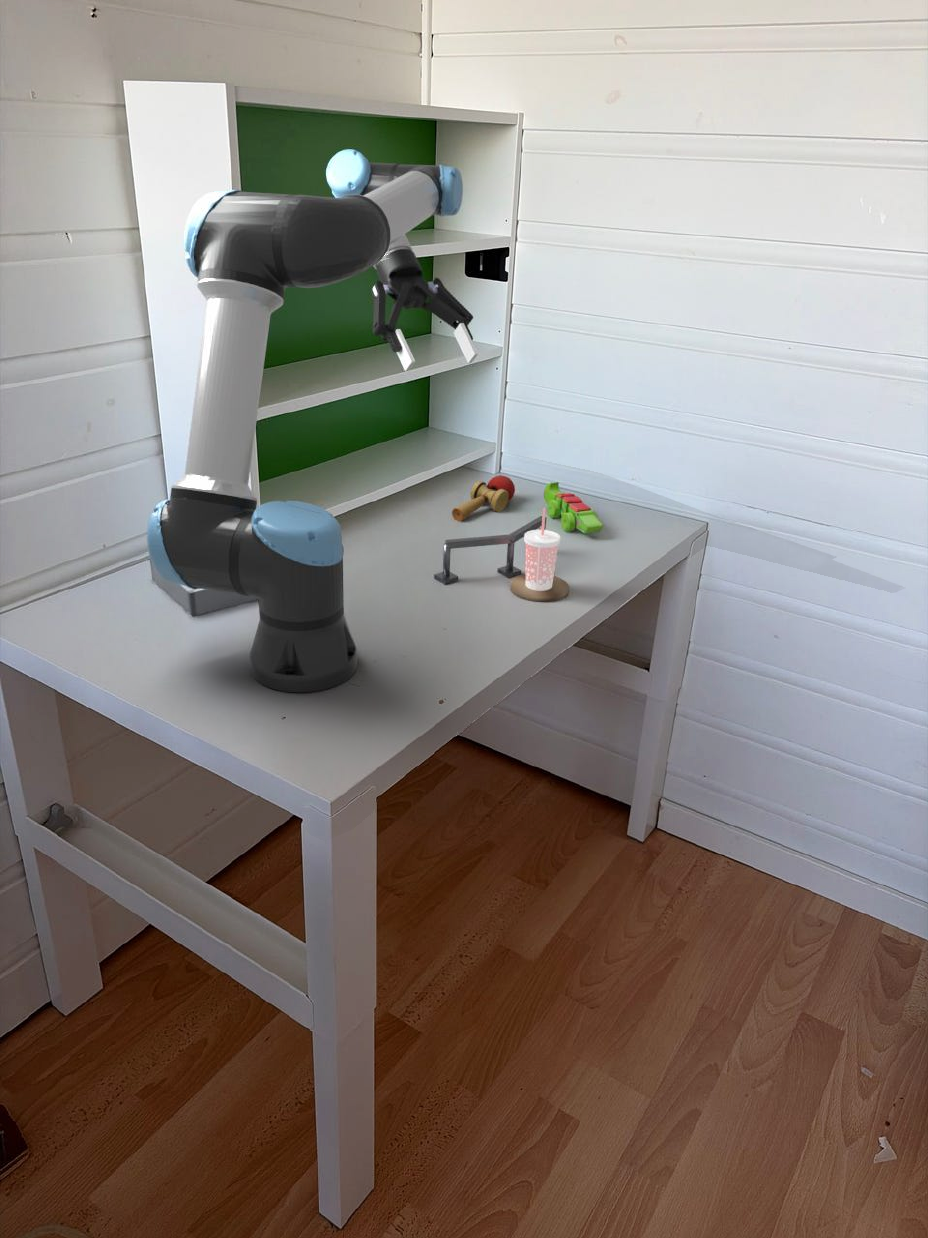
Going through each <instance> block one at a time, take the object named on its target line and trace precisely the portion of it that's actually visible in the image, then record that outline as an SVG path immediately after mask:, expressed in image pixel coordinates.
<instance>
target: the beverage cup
mask: <svg viewBox="0 0 928 1238" xmlns="http://www.w3.org/2000/svg"><path fill="white" fill-rule="evenodd" d="M546 512H547V507H545V506H543V508H542V515H541V516H542V529H541V530H539V529H536V530H531V531H528V532H526V533H525V534H524V537H523V540H524V541H523V542H524V543H525V574H526V583H525V585H526V586H527V588H529V589H532V590H537V591H544V590H548V589H550V588H551V587H552V583H553V576H555V569H556V561H557V555H558V549H559V545H560V544H561V535H560V534H559V533H557V532H555V531H553V530H547V529H546V530H544V527H545V517H546Z"/></svg>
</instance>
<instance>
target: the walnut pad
mask: <svg viewBox="0 0 928 1238" xmlns="http://www.w3.org/2000/svg"><path fill="white" fill-rule="evenodd" d="M525 583H526V573H524V574H521V575H517V576H514V577H512V579H511V581H510V586H509V590H510V591H511V593H512V594H513V595H514V596H516V597H518V598H520V599H522V600H525V601H526V600H527V601H530V602H537V603H550V602H557V601H560V600H562V599H565V597H567V596H568V594H569V590H570V587H569V586H570V585H569V583H568V582H567V581H566V580H564V579H563V578H562V577H558V576H556V575H554V576H553V583H552V587H551V588H550V589H548V590H544V591H537V590H532V589H529V588H527V586H526V585H525Z"/></svg>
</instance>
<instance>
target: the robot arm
mask: <svg viewBox="0 0 928 1238" xmlns="http://www.w3.org/2000/svg"><path fill="white" fill-rule="evenodd" d="M325 176H326V181H327V184H328V186H329V188H330V189H331V193H332V195H333V196H334V197H329V196H318V195H310V194H309V195H308V194H287V193H286V194H285V193H271V192H270V193H269V192H266V193H265V192H253V191H251V192H250V191H243V190H239V189H232V190H229V191H213V192H211V191H210V192H208V193H206V194H205V195H204V196H203V197H200V198H199V199H198V200H197V201H196V202H195V204H194V205H193V207H192V209H191V210H190V212H189V215H188V218H187V221H186V224H185V229H184V236H183V249H184V251H185V252H187V253H186V256H185V260H186V264H187V267H188V268H189V271H190V272H191V273H192V274H193V275H194V276H195V277H196V278H197V282H196V287H197V289H198V290H199V291H200V293H201V295H202V296H203V298H204V299H205V300H206V304H205V313H204V321H203V328H202V338H201V343H200V351H199V352H200V353H199V361H198V370H197V376H196V383H195V390H194V391H195V392H194V399H193V407H192V415H191V423H190V431H189V436H188V437H189V438H188V446H187V454H186V455H187V456H186V462H185V469H184V475H183V477H182V478H181V479H180V478H179V480H178V481H176V482H175V483H173V484H171V488H170V495H169V496H170V497H169V498H167V499H164V500H162V501H160V502H159V503H157V504H156V506H155V507H153V512H152V513H151V514H150V516H149V518H148V524H147V529H146V530H147V531H146V541H147V542H146V543H147V551H148V555H149V559H150V558H151V561H152V563H153V565H154V566H155V568H156V571H157V572H158V573H159V574H160V575H161V576H162V577H163V578H164V579H165V580H167V581H169V582H171V583H175V584H180V585H184V586H187V587H189V588H191V589H192V590H195V589H207V590H213V591H219V592H226V593H232V594H238V595H245V596H251V597H256V598H258V599H257V601H258V608H259V609H258V612H259V613H258V614H259V622H258V624H257V629H256V631H255V636H254V639H253V643H252V646H251V649H250V652H249V666H250V674H251V675H252V677H253V678H254V679H255V680H256V681H257V682H258V683H259V684H261V685H263V686H265V687H268V688H269V689H270V688H271V689H274V690H277V691H281V692H289V693H309V692H319V691H324V690H327V689H330V688H333V687H336V686H339V685H341V684H343V683H344V682H346V681H347V680H349V679H350V678H351V677H352V676H353V675H354V674H355V672H356V671H357V669H358V668H357V667H358V649H357V645H356V643H355V640H354V638H353V634H352V632H351V631H350V628H349V624H348V623H347V620H346V617H345V611H344V610H345V609H344V608H345V606H344V605H345V604H344V595H345V594H344V553H345V551H344V546H343V544H344V543H343V538H342V537H343V536H342V529H341V525H340V523H339V521H338V520H337V518H335V516H333V514H332V513H331V512H330V511H328V510H326V509H325V508H322V507H320V506H317V505H314V504H312V503H308V502H303V501H298V500H286V501H281V500H275V501H269V502H265V503H262V504H260V505H258V498H257V497H256V495H255V494H254V493H253V491H252V489H251V488H250V486H249V482H250V481H249V480H250V473H251V466H252V459H253V452H254V451H253V449H254V445H255V444H254V443H255V442H254V441H255V435H256V427H257V419H258V413H259V412H258V411H259V405H260V397H261V391H262V390H261V389H262V381H263V373H264V368H265V367H264V366H265V360H266V359H265V358H266V352H267V343H268V338H269V337H268V336H269V328H270V321H271V314H272V313H274V312H275V311H277V310H278V309H280V308H281V307H282V306H283V305H284V300H285V292H286V288H298V289H300V288H305V289H311V288H312V289H313V288H320V287H325V286H329V285H333V284H336V283H339V282H341V281H344V280H347V279H350V278H352V277H355V276H357V275H359V274H361V273H363V272H366V270H368V269H370V268H372V267H373V268H374V269H375V272H376V274H377V276H378V278H379V280H377V281H376V282H375V284H374V286H373V287H372V289H371V291H370V293H371V295H372V299H373V320H372V323H373V324H372V333H373V335H374V336H376V337H378V336H380V335H381V340H383V341H384V342H388V344H389V346H390V348H391V350H392V351H393V353H396V355H397V356H398V358H399V361H400V362H401V365H402V367H403V370H404V371H405V372H407V371H408V372H409V371H410V370H411V369H412V368H413V365H414V364H415V363H416V359H415V358H414V356H413V353H412V351H411V348H410V347H409V345H408V342H407V340H406V339H405V336H404V334H403V331H402V330H401V328H397V329H396V327H397V323H398V321H399V318H400V315H401V313H402V309H403V308H405V310H407V309H408V310H409V309H412V308H414V309H423V310H424V311H429V312H430V313H432V314H433V315H435V316H436V317H437V318H439V319H440V320H442V321H443V322H444V323H446V324H447V325H448V326H450V327H451V328H453V329H454V331H453V332H452V333H453V335H454V337H455V340H456V341H457V343H458V346H459V347H460V349H461V351H462V353H463V356H464V358H465V360H466V362H467V364H471V363H472V362H473V361H474V360H475V359H476V358H477V356H478V355H479V352H478V350H477V348H476V346H475V344H474V342H473V341H474V338H473V337H474V336H473V334H472V333H471V331H470V328H469V324H470V323H471V322H472V321H473V320H474V316H473V314H472V313H471V312H470V311H469V310H468V309H467V308H466V307H465V306H464V305H463V304H462V303H461V302H460V301H459V300H458V299H457V298H456V297H455V296H454V295H453V294H452V293H451V292H450V291H449V290H448V289H447V288H446V287H445V286H444V284H443V282H442V281H441V279H440V278H439V277H435V278H434V279H433V281H427V280H425V278H424V276H423V273H422V272H423V270H422V267H421V264H420V262H419V260H418V258H417V256H416V254H415V253H414V250H413V248H412V245H411V244H410V242H409V240H408V237H407V235H406V234H407V233H409V232H410V231H412V230H413V229H414V228H415V227H418V225H420V224H422V223H423V222H424V221H426V220H427V219H428V218H430V217H432V216H439V217H445V216H446V217H447V216H450V217H452V216H455V215H457V214H458V213H459V211H460V209H461V206H462V203H463V192H464V188H463V187H464V186H463V177H462V174H461V171H460V170H459V169H458V168H457V167H455V166H445V165H443V164H438V165H434V164H433V165H430V164H429V165H427V164H402V163H390V162H389V163H388V162H386V163H385V162H369V160H368V158H367V157H365V155H363V154H362V153H361V152H360V151H358V150H355V149H343V150H341V151H338V152H336V154H334V155H333V156H332V158H330V160H329V162H328V163H327V167H326V170H325ZM388 250H389V251H390V253H389V254H387V256H386V258H389V259H386V260H383V261H380V260H381V259H382V258H383V257H384V256H385V255H386V253H387V251H388ZM386 295H387V296H388V297H390V298H391V299H392V300H393V304H392V307H391V311H390V313H389V315H388V318H387V319H388V320H387V322H386V298H387V297H386ZM428 298H429V299H428ZM427 299H428V301H427ZM426 301H427V302H426ZM395 329H396V330H395Z"/></svg>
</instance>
